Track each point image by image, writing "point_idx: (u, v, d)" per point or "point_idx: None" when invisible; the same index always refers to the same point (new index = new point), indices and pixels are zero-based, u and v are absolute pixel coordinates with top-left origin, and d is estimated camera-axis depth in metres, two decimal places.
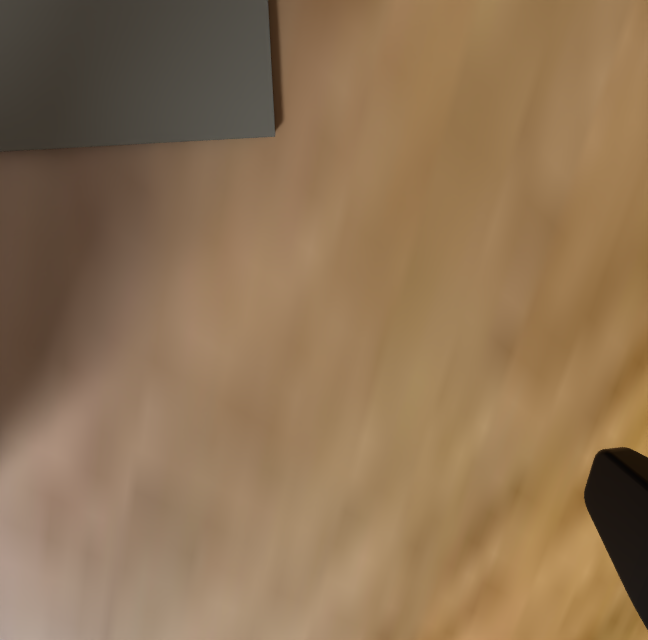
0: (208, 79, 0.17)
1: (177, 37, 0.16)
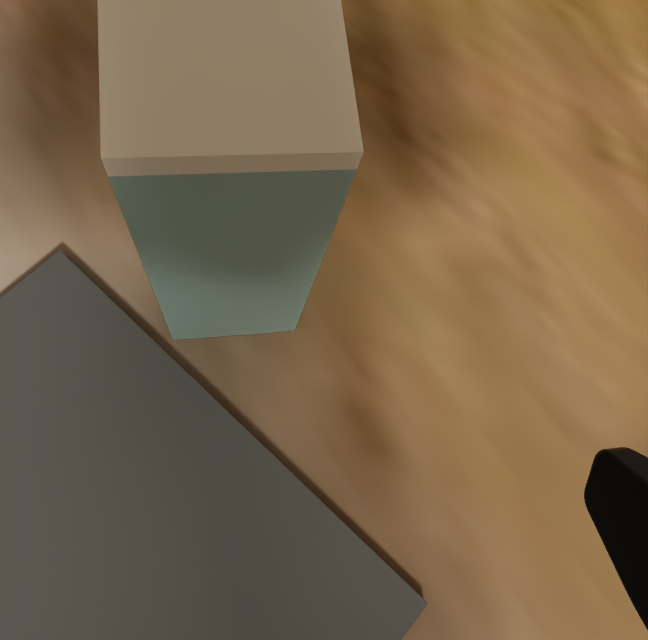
0: (356, 612, 0.20)
1: (317, 606, 0.20)
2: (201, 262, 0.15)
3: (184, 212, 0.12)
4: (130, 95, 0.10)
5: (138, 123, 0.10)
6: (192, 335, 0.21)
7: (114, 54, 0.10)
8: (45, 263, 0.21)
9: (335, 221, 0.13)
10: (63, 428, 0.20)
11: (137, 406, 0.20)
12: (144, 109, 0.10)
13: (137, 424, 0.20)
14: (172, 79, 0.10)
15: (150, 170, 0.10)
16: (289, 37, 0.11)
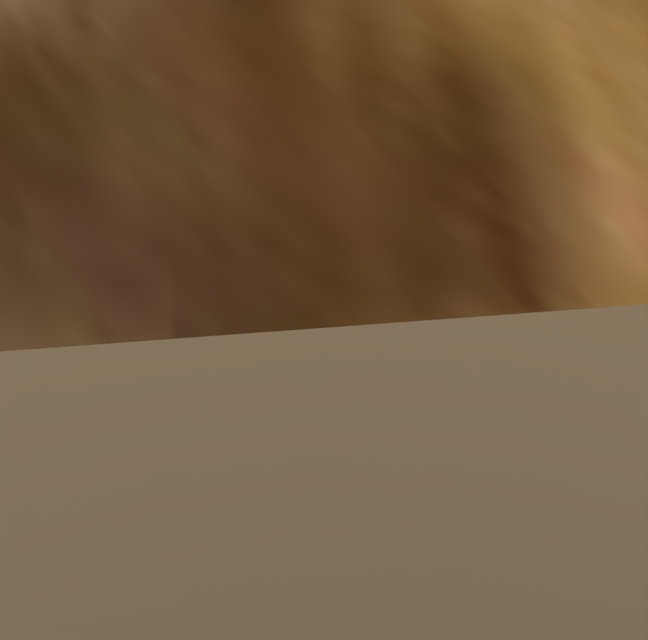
0: None
1: None
2: None
3: None
4: None
5: None
6: None
7: None
8: None
9: None
10: None
11: None
12: None
13: None
14: None
15: None
16: None
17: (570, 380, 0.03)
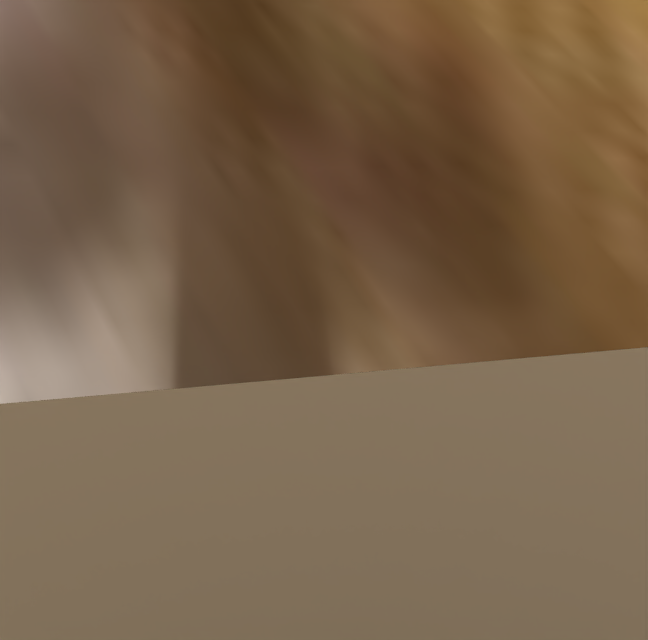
0: None
1: None
2: None
3: None
4: None
5: None
6: None
7: None
8: None
9: None
10: None
11: None
12: None
13: None
14: None
15: None
16: None
17: (490, 414, 0.04)
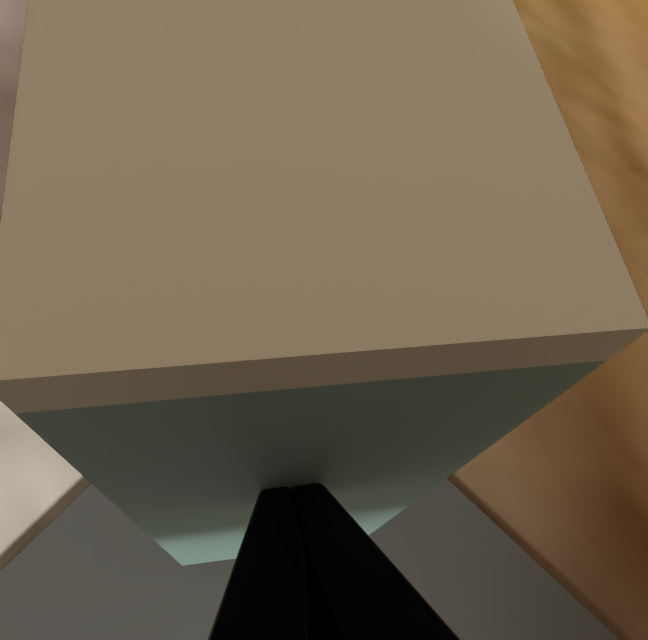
0: None
1: None
2: (232, 502, 0.08)
3: (204, 451, 0.06)
4: (78, 215, 0.04)
5: (93, 282, 0.04)
6: (211, 559, 0.14)
7: (50, 126, 0.04)
8: None
9: (495, 436, 0.07)
10: None
11: None
12: (111, 246, 0.04)
13: (382, 535, 0.16)
14: (182, 176, 0.04)
15: (122, 393, 0.04)
16: (433, 86, 0.05)
17: None
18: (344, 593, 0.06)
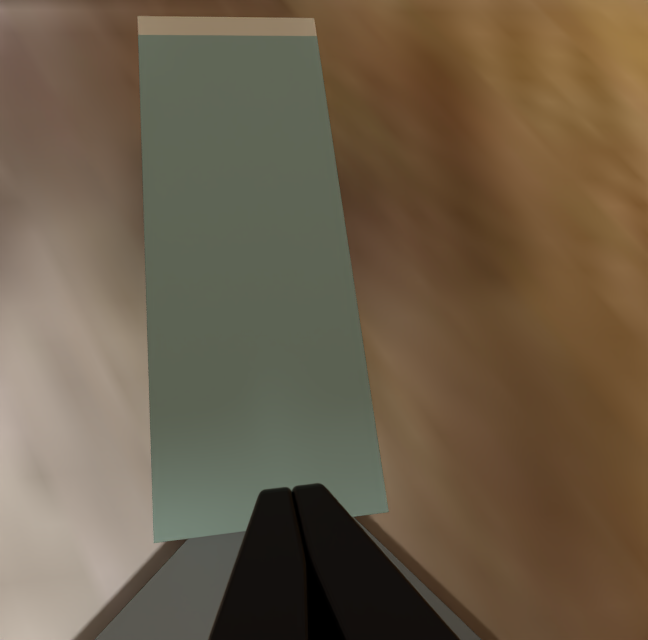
0: None
1: None
2: (205, 183, 0.14)
3: (190, 84, 0.14)
4: None
5: None
6: (192, 511, 0.11)
7: None
8: None
9: (328, 114, 0.15)
10: None
11: None
12: None
13: None
14: None
15: (168, 29, 0.15)
16: None
17: None
18: (344, 593, 0.06)
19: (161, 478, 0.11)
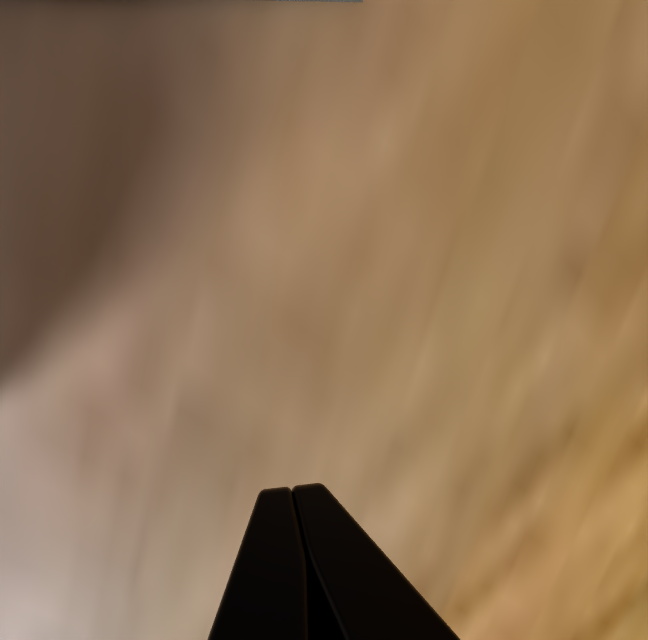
0: None
1: None
2: None
3: None
4: None
5: None
6: None
7: None
8: None
9: None
10: None
11: None
12: None
13: None
14: None
15: None
16: None
17: None
18: (344, 593, 0.06)
19: None
